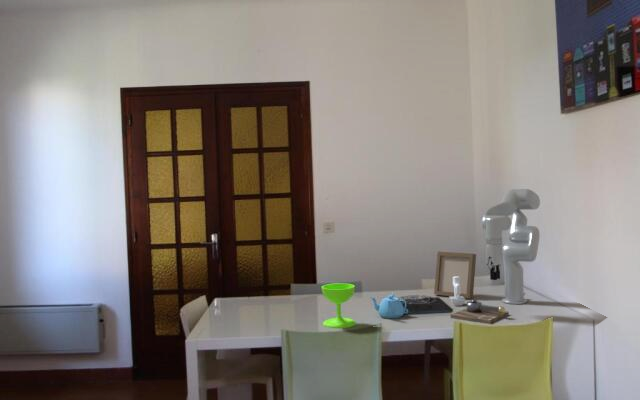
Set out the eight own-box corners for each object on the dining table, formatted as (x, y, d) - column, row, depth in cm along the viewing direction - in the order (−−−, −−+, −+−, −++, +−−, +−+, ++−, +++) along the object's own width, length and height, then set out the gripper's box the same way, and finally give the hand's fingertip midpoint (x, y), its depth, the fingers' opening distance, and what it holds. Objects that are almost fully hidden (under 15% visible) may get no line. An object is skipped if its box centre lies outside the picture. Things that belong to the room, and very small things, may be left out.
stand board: (471, 309, 288) (470, 306, 288) (508, 314, 274) (508, 311, 274) (450, 317, 272) (450, 314, 272) (489, 323, 259) (489, 320, 259)
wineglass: (363, 323, 267) (361, 286, 266) (336, 330, 258) (334, 291, 257) (342, 317, 280) (341, 282, 279) (316, 323, 271) (314, 286, 270)
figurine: (452, 306, 295) (451, 278, 294) (448, 302, 304) (447, 275, 304) (466, 306, 295) (465, 278, 294) (462, 302, 304) (461, 274, 304)
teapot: (412, 316, 278) (411, 295, 278) (388, 321, 270) (387, 300, 270) (393, 311, 290) (392, 291, 290) (369, 315, 282) (369, 295, 282)
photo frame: (469, 300, 309) (468, 254, 309) (434, 295, 324) (432, 252, 323) (481, 295, 321) (479, 251, 320) (446, 291, 335) (445, 249, 334)
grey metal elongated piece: (464, 311, 278) (464, 300, 277) (471, 308, 283) (471, 298, 283) (501, 316, 265) (501, 305, 265) (507, 313, 270) (507, 302, 270)
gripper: (494, 240, 285) (495, 276, 286) (479, 243, 273) (480, 281, 274) (508, 240, 280) (509, 277, 281) (494, 244, 268) (495, 282, 269)
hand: (495, 278), depth 277 cm, fingers open, 2 cm apart
